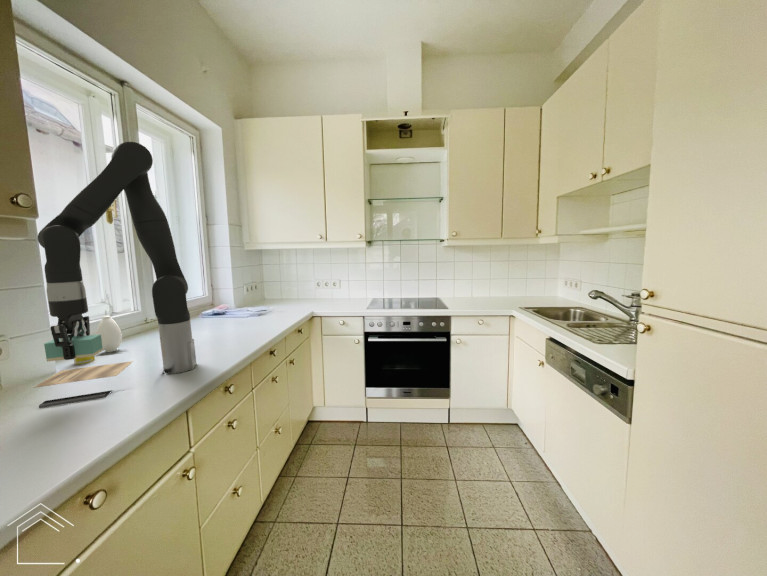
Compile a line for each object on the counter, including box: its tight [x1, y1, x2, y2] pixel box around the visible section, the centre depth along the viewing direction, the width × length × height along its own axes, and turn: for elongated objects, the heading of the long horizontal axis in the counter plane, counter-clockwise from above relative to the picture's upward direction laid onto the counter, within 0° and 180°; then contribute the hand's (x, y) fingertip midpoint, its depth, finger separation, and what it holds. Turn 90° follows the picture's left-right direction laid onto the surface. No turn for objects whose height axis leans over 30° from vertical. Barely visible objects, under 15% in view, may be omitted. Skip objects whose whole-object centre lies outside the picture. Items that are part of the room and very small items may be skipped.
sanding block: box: [43, 334, 104, 362], centre depth 87 cm, size 10×6×5 cm, turn 112°
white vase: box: [95, 309, 123, 353], centre depth 127 cm, size 8×8×18 cm
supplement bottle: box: [73, 356, 96, 365], centre depth 112 cm, size 5×5×10 cm
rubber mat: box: [38, 390, 114, 409], centre depth 88 cm, size 14×10×1 cm
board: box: [33, 360, 134, 388], centre depth 101 cm, size 20×14×2 cm
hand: (76, 355), depth 87 cm, fingers closed on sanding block, 5 cm apart
